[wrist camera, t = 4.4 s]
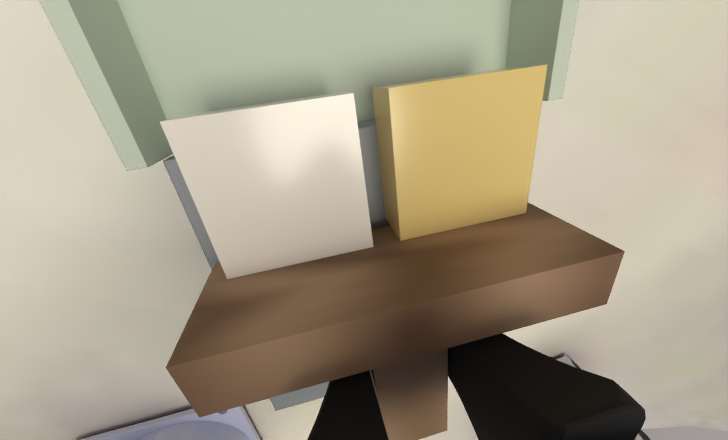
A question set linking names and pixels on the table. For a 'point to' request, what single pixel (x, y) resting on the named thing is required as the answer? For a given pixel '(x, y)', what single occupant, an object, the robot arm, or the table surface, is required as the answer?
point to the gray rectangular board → (289, 65)
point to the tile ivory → (276, 180)
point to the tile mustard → (457, 148)
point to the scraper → (387, 314)
